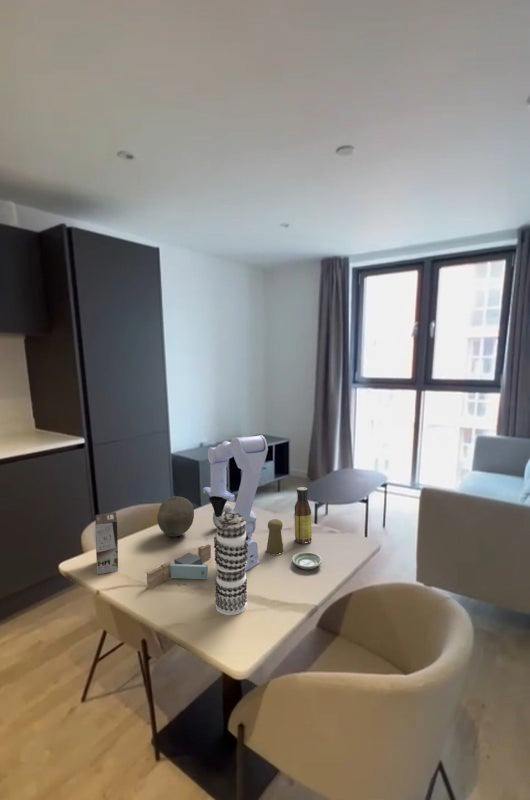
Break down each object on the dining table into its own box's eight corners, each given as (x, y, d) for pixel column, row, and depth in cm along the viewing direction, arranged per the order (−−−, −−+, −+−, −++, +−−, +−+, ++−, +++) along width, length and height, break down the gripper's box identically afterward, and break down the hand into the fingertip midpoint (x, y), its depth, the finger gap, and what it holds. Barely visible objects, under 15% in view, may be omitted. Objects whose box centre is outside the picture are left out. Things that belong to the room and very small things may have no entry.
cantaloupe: (150, 535, 147) (149, 497, 146) (183, 525, 157) (182, 489, 155) (168, 548, 137) (167, 507, 135) (202, 536, 146) (201, 498, 145)
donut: (217, 532, 150) (216, 507, 149) (210, 530, 152) (210, 505, 151) (234, 524, 158) (234, 501, 157) (228, 522, 160) (228, 499, 159)
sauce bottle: (314, 539, 144) (315, 487, 143) (306, 546, 139) (307, 492, 137) (298, 535, 148) (299, 484, 146) (291, 541, 143) (291, 489, 141)
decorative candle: (224, 592, 110) (223, 507, 108) (253, 599, 107) (254, 512, 105) (207, 610, 102) (206, 519, 100) (238, 619, 99) (239, 525, 96)
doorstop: (201, 570, 123) (201, 558, 122) (187, 578, 118) (187, 565, 118) (189, 564, 126) (189, 552, 126) (174, 571, 122) (174, 559, 121)
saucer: (299, 555, 132) (299, 549, 132) (326, 563, 127) (326, 556, 127) (286, 568, 124) (286, 561, 124) (314, 576, 119) (314, 569, 119)
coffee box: (118, 571, 122) (117, 521, 120) (96, 575, 119) (94, 524, 118) (117, 557, 130) (116, 511, 129) (97, 561, 128) (95, 514, 126)
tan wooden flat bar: (211, 558, 130) (211, 544, 130) (149, 589, 112) (149, 573, 111) (207, 556, 131) (207, 543, 131) (146, 587, 113) (146, 571, 112)
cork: (278, 556, 131) (278, 525, 130) (263, 552, 134) (263, 521, 134) (286, 549, 136) (286, 519, 135) (271, 545, 140) (272, 515, 139)
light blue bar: (206, 581, 116) (206, 567, 115) (166, 579, 117) (166, 566, 116) (207, 578, 118) (207, 564, 117) (168, 576, 118) (167, 563, 118)
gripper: (196, 478, 141) (197, 514, 143) (224, 486, 132) (224, 524, 133) (211, 474, 147) (211, 508, 148) (238, 481, 138) (238, 518, 139)
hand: (218, 515), depth 141 cm, fingers closed
